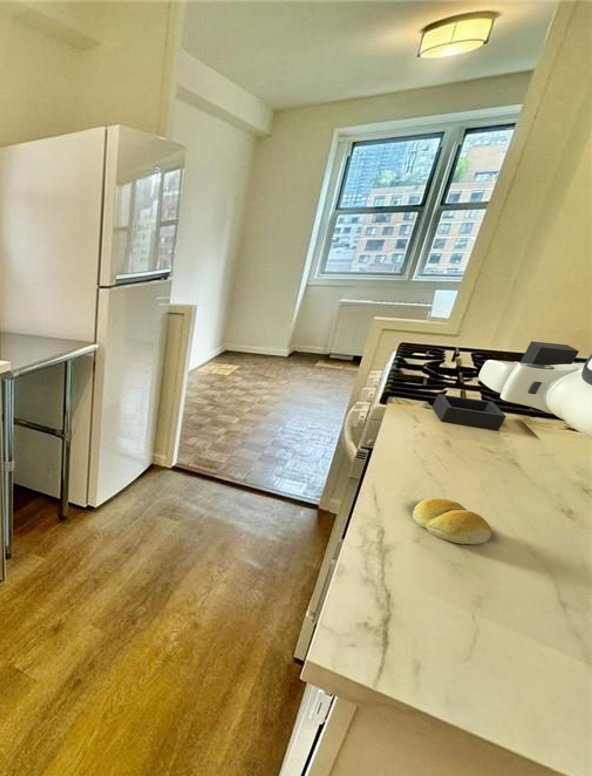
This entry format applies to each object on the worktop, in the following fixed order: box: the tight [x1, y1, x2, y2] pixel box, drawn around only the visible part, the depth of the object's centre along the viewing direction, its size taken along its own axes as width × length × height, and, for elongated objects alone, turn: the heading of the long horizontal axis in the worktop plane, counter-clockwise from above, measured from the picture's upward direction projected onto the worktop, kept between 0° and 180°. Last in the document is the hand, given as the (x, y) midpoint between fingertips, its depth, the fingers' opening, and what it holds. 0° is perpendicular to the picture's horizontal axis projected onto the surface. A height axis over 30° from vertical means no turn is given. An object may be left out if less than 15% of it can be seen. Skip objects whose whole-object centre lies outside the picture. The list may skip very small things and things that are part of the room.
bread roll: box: [412, 497, 492, 545], centre depth 74 cm, size 8×9×4 cm
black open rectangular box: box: [432, 393, 507, 431], centre depth 112 cm, size 10×10×4 cm
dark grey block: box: [520, 340, 580, 365], centre depth 91 cm, size 5×5×10 cm
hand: (538, 368), depth 91 cm, fingers closed on dark grey block, 5 cm apart
